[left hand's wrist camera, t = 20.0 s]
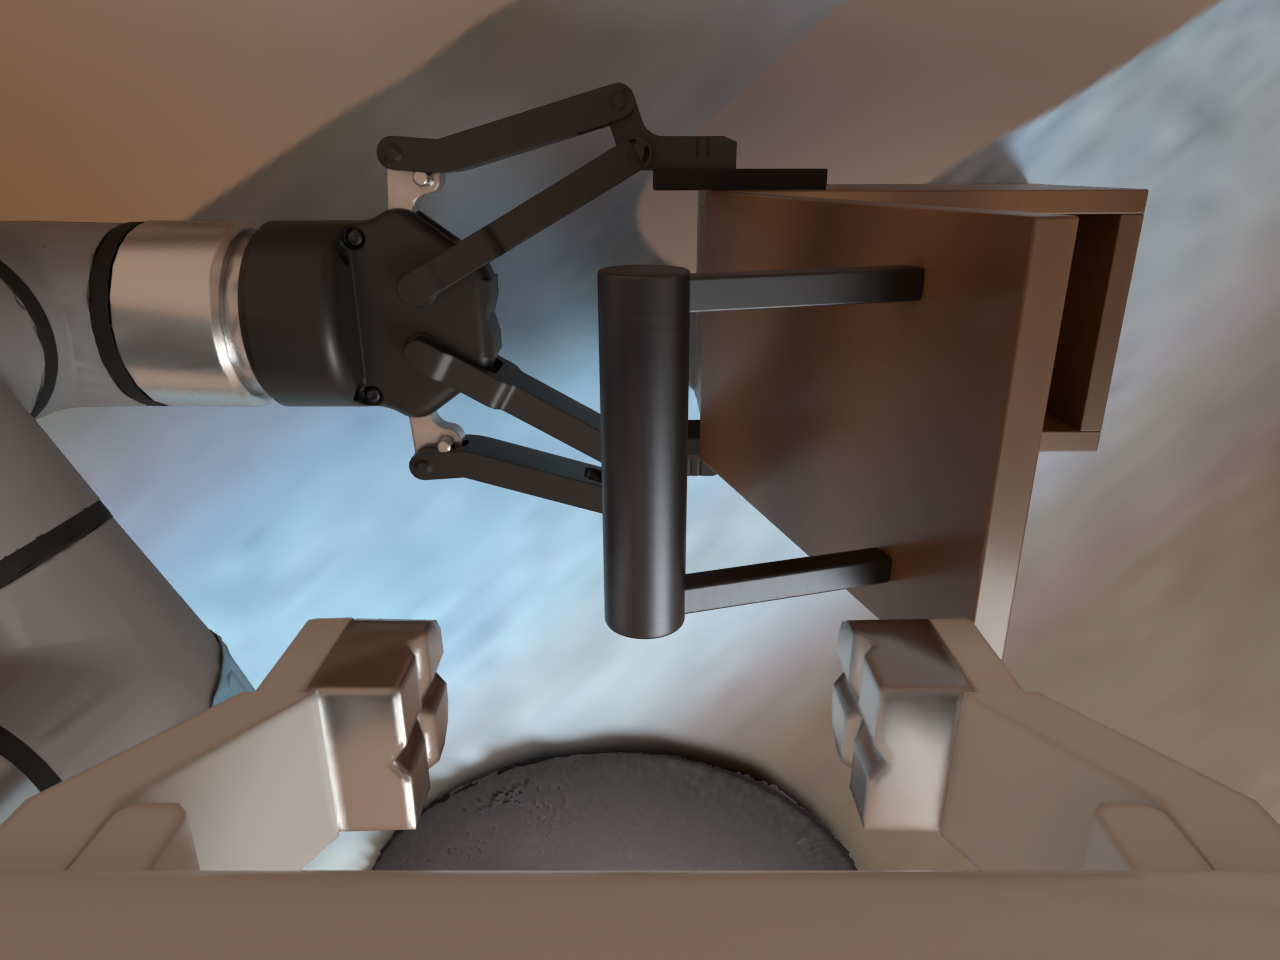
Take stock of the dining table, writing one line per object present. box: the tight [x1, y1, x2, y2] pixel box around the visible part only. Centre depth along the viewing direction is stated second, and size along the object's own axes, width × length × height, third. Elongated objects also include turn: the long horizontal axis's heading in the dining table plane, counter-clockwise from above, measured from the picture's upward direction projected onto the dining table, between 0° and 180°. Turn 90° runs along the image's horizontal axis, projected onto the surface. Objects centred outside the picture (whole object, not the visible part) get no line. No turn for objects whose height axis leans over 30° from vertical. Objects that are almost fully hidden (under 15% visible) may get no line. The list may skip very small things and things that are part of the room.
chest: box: [694, 184, 1148, 451], centre depth 36 cm, size 16×10×10 cm, turn 90°
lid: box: [598, 192, 1079, 661], centre depth 23 cm, size 16×10×8 cm
